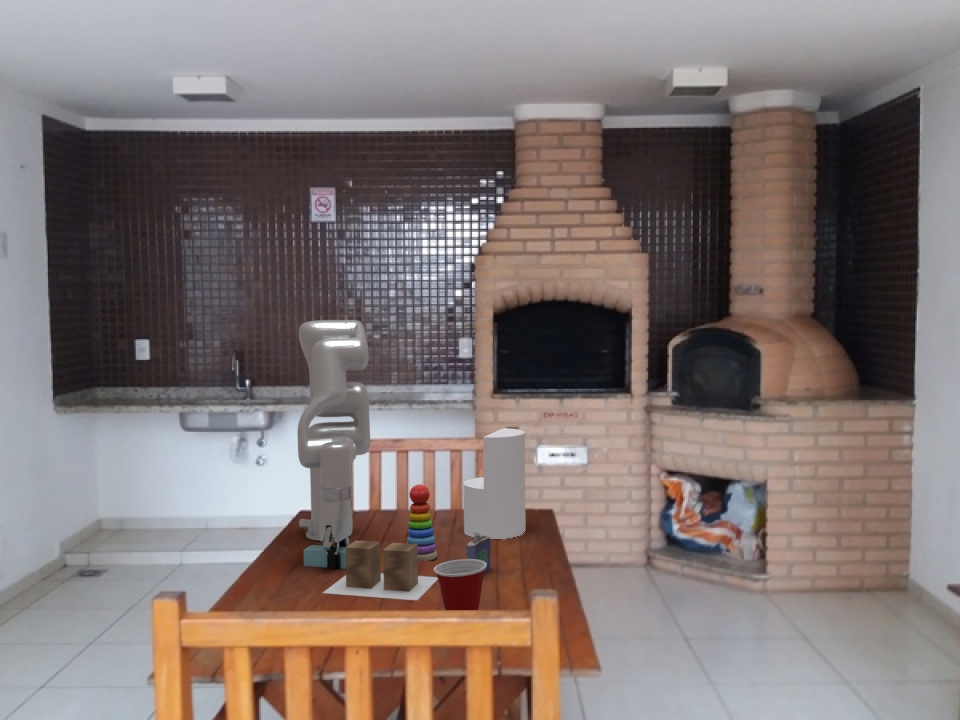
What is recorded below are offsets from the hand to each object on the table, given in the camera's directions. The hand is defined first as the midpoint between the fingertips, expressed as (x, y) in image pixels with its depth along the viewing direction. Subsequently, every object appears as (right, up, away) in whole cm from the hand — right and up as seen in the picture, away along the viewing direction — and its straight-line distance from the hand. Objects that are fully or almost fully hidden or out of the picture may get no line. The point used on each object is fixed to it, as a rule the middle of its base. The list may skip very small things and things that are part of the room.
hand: (338, 566), depth 217 cm
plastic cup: (+31, -3, -37) cm, 48 cm away
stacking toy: (+20, 0, +9) cm, 21 cm away
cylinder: (+39, +2, +33) cm, 51 cm away
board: (+12, -2, -15) cm, 20 cm away
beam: (0, -1, 0) cm, 1 cm away
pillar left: (+8, -1, -14) cm, 16 cm away
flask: (+34, -1, -8) cm, 35 cm away
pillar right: (+17, -1, -17) cm, 24 cm away
